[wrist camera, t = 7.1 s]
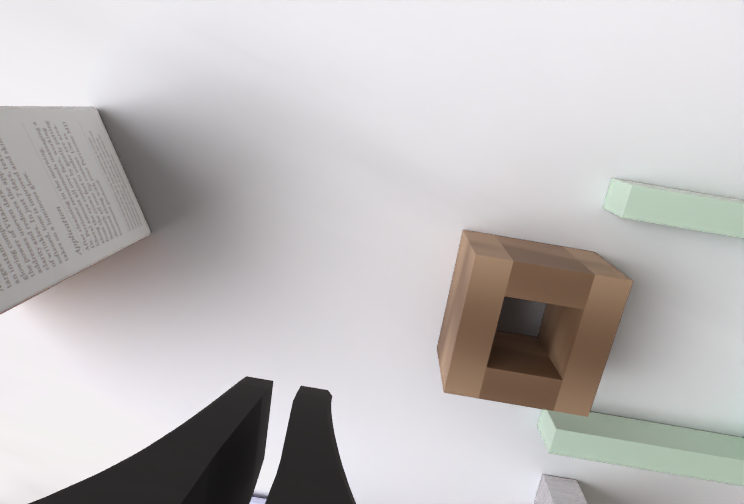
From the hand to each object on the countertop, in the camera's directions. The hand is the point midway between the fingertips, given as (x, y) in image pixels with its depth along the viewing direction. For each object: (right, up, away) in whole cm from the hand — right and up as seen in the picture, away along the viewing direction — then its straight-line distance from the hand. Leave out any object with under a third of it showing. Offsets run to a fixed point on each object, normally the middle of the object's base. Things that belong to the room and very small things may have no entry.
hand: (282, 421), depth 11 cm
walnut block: (+8, +2, +10) cm, 13 cm away
